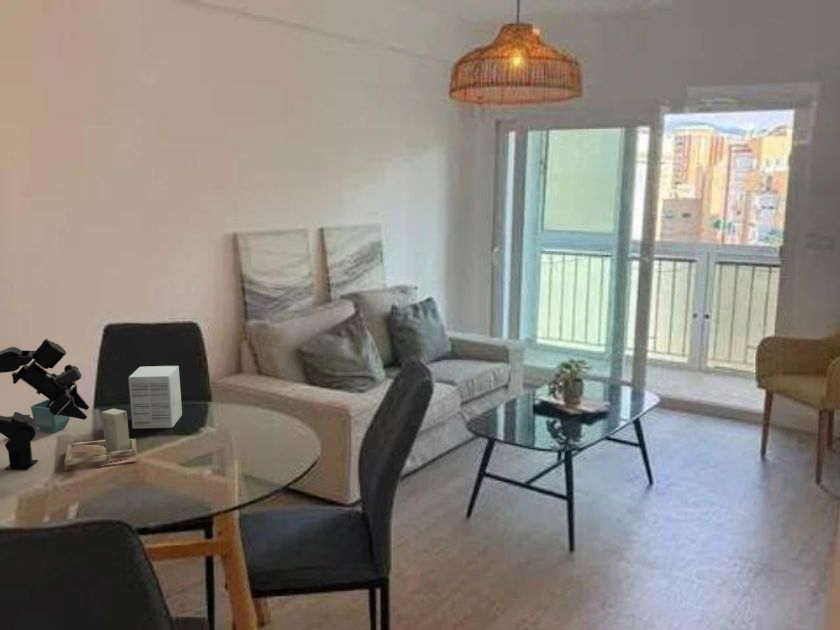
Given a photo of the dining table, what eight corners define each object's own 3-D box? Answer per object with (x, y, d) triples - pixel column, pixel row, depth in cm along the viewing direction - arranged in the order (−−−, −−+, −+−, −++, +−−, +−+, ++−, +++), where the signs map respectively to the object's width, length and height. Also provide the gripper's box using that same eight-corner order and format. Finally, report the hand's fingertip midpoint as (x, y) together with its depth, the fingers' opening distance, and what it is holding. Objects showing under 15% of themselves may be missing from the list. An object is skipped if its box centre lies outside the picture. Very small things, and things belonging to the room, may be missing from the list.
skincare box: (131, 450, 232) (127, 411, 229) (118, 455, 228) (115, 415, 225) (117, 446, 235) (113, 407, 232) (104, 451, 231) (100, 411, 229)
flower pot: (74, 426, 256) (72, 400, 254) (55, 435, 248) (52, 408, 246) (52, 424, 258) (49, 398, 256) (32, 433, 250) (29, 406, 248)
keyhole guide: (64, 470, 220) (64, 462, 219) (69, 451, 235) (69, 442, 234) (136, 462, 226) (136, 453, 225) (137, 443, 241) (136, 435, 240)
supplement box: (143, 415, 266) (139, 366, 263) (182, 414, 267) (179, 365, 264) (131, 429, 253) (127, 377, 250) (172, 428, 254) (169, 376, 251)
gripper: (58, 367, 213) (105, 401, 219) (64, 351, 230) (107, 383, 236) (29, 398, 212) (77, 432, 218) (37, 379, 229) (82, 411, 235)
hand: (87, 413), depth 227 cm, fingers open, 9 cm apart
